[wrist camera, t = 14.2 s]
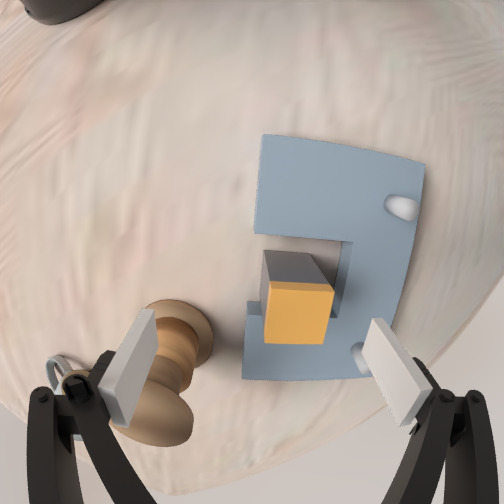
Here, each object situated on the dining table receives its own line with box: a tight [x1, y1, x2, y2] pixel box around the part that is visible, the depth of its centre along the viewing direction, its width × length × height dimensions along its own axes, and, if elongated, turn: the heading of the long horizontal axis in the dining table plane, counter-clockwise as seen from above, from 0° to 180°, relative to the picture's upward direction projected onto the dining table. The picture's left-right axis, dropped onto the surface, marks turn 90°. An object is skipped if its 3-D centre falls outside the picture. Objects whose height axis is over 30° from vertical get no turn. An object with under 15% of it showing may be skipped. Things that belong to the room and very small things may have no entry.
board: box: [242, 134, 425, 381], centre depth 23 cm, size 22×14×6 cm, turn 175°
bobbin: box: [109, 300, 214, 447], centre depth 21 cm, size 8×8×12 cm
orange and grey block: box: [260, 250, 335, 344], centre depth 21 cm, size 4×4×8 cm
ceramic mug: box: [45, 355, 90, 441], centre depth 26 cm, size 11×8×8 cm
